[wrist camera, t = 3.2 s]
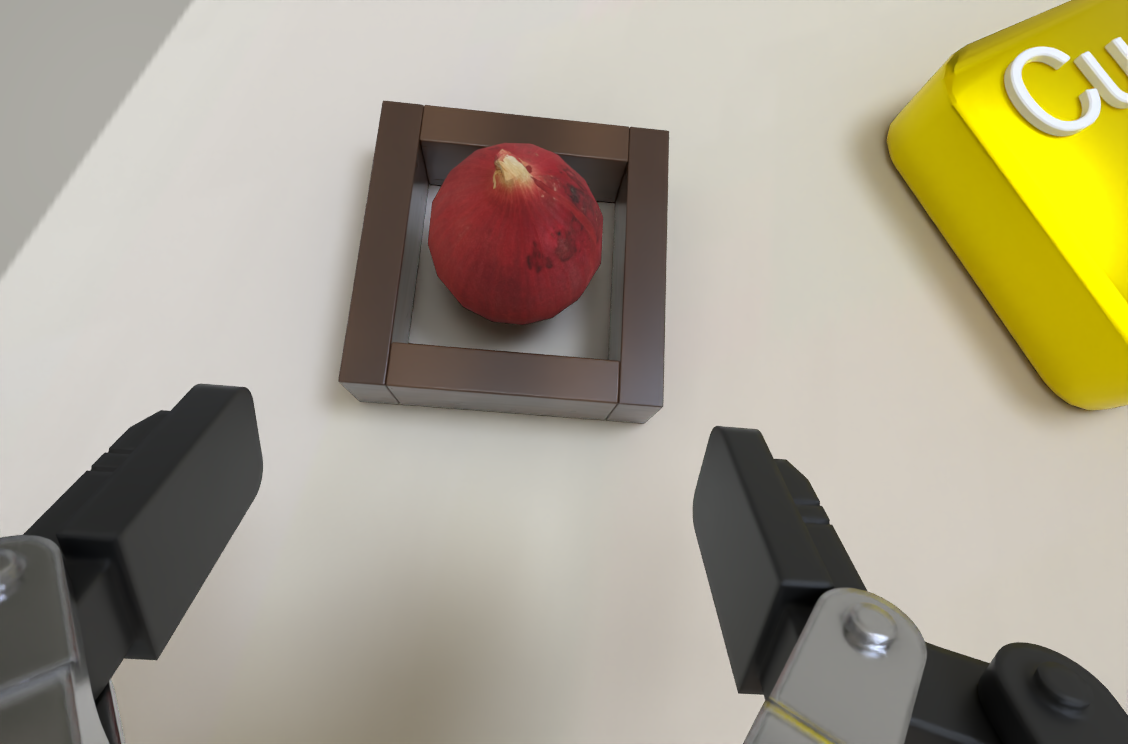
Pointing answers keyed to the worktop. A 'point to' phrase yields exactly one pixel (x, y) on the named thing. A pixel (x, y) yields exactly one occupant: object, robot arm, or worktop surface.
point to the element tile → (1036, 186)
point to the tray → (499, 378)
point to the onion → (515, 233)
